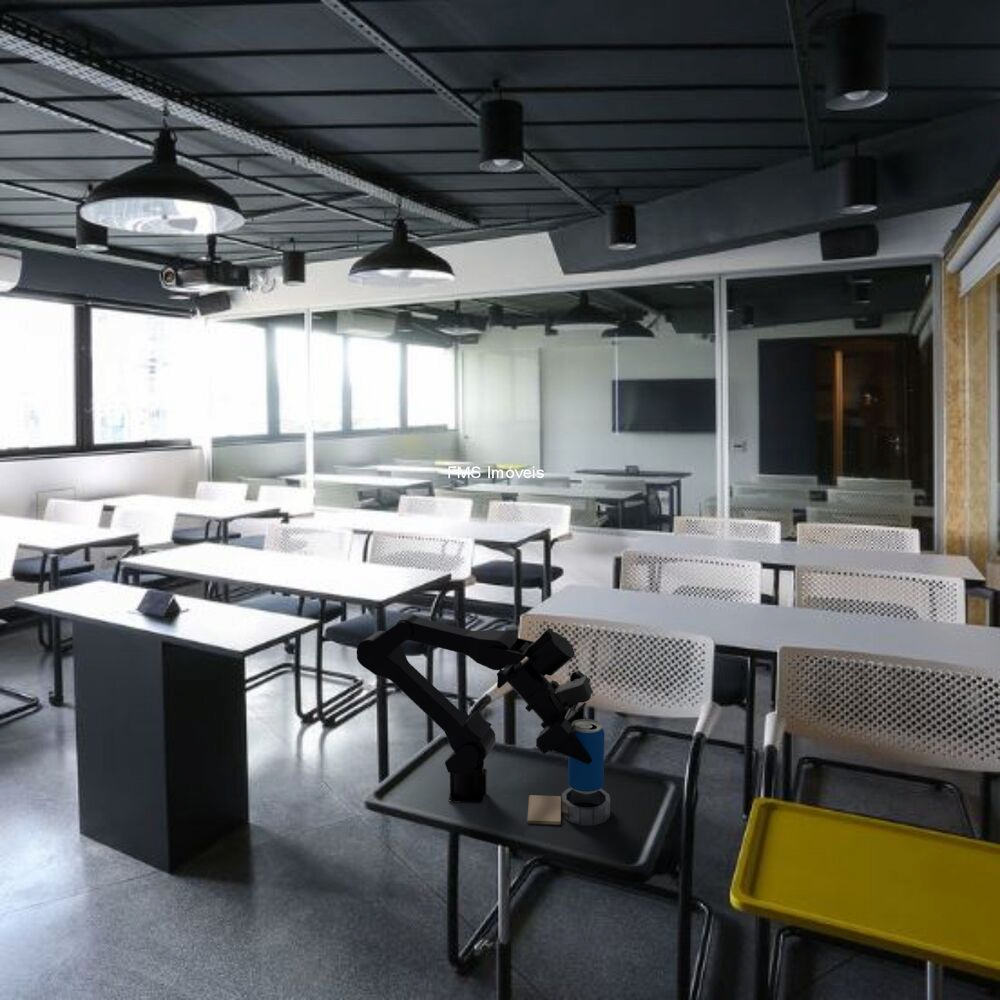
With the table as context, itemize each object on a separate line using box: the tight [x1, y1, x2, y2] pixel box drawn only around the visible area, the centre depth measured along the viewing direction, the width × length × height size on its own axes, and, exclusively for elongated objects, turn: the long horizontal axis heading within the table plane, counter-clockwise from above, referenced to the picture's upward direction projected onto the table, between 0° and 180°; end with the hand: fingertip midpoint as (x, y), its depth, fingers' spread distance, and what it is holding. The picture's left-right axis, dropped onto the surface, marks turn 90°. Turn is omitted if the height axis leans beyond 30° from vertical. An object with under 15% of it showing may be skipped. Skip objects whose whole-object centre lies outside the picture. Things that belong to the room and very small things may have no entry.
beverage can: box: [567, 718, 605, 794], centre depth 151 cm, size 6×6×12 cm
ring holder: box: [561, 787, 611, 827], centre depth 152 cm, size 9×9×3 cm
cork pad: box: [526, 794, 562, 826], centre depth 153 cm, size 6×9×1 cm, turn 176°
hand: (593, 754), depth 150 cm, fingers closed on beverage can, 6 cm apart
